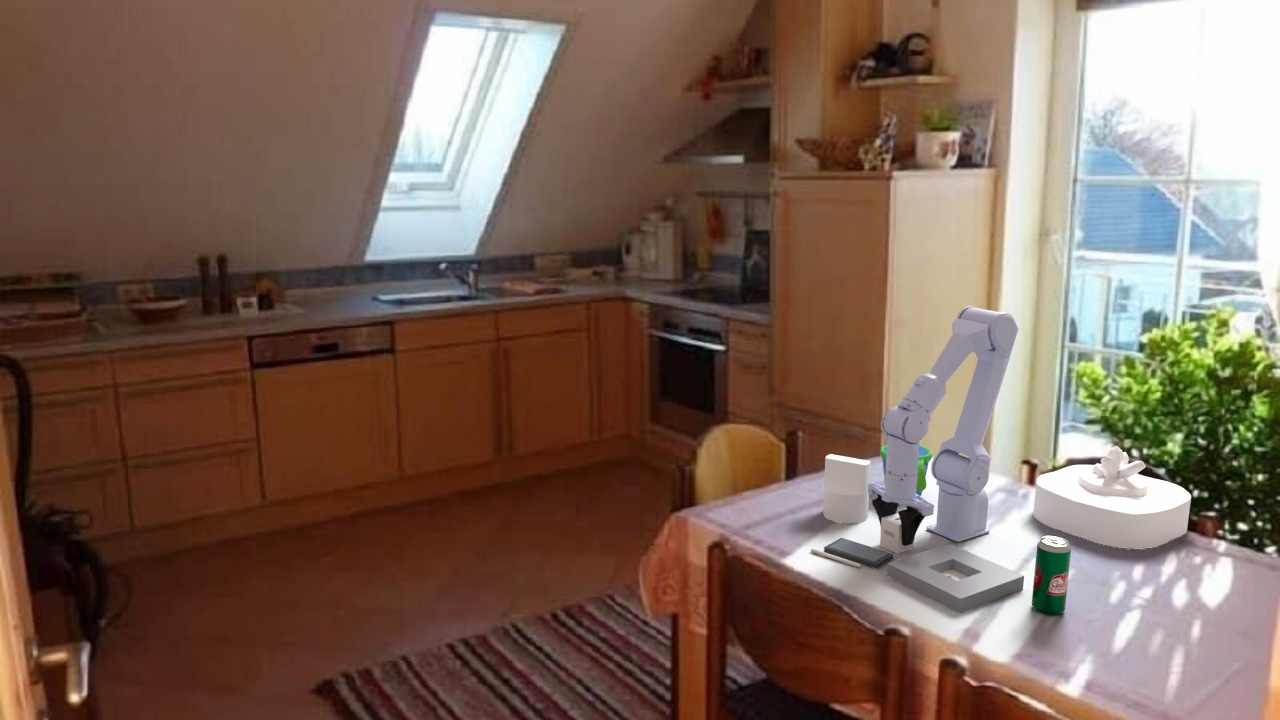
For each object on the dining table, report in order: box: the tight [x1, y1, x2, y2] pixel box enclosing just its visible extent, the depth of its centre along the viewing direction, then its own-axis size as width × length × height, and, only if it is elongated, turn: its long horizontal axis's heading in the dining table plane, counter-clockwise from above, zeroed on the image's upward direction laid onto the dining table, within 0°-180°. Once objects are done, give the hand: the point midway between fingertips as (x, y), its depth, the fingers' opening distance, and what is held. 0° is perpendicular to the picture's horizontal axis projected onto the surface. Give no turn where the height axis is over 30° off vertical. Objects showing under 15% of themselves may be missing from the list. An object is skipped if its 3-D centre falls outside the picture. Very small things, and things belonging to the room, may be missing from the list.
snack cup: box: [879, 444, 933, 497], centre depth 209 cm, size 16×10×10 cm
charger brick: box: [879, 512, 916, 554], centre depth 182 cm, size 4×4×6 cm
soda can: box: [1031, 535, 1072, 616], centre depth 157 cm, size 5×5×12 cm
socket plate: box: [886, 543, 1025, 613], centre depth 168 cm, size 16×16×2 cm
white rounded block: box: [822, 453, 872, 524], centre depth 197 cm, size 9×9×12 cm
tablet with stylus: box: [810, 537, 894, 570], centre depth 179 cm, size 8×13×1 cm, turn 47°
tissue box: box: [1032, 445, 1192, 548], centre depth 193 cm, size 25×25×16 cm
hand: (897, 539), depth 182 cm, fingers closed on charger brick, 4 cm apart
